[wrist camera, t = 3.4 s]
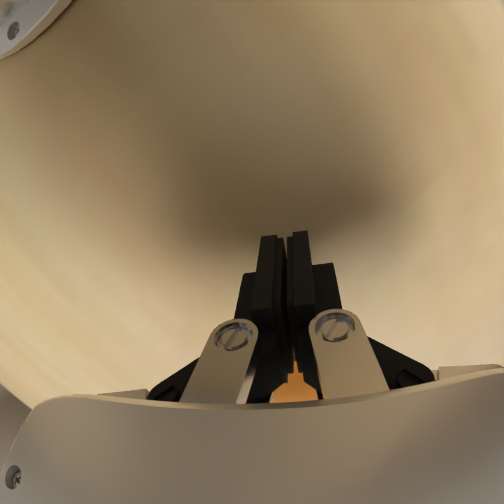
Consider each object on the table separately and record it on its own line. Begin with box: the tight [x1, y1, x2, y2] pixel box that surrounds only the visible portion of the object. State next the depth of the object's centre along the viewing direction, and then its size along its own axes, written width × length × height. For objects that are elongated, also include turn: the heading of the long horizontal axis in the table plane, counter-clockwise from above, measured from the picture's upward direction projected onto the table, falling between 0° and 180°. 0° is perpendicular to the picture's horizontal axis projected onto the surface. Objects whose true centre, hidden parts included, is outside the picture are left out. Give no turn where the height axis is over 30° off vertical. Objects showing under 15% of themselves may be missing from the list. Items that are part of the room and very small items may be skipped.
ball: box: [274, 361, 317, 403], centre depth 15 cm, size 6×6×6 cm
